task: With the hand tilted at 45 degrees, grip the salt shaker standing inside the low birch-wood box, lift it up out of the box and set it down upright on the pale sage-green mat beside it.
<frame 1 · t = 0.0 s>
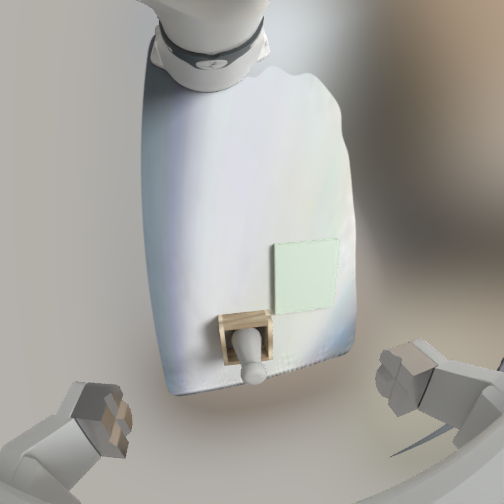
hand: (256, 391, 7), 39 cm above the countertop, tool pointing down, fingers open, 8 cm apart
sage mat: (305, 276, 51), on the countertop
wooden box: (244, 332, 54), on the countertop
salt shaker: (244, 331, 54), resting in wooden box
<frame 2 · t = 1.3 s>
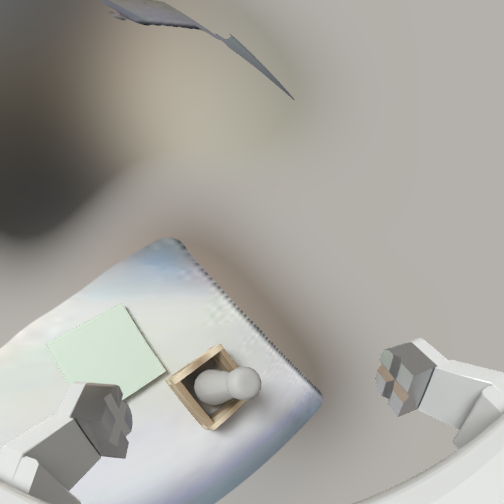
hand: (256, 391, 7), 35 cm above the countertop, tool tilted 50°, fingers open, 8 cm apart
sage mat: (104, 360, 33), on the countertop
wooden box: (206, 387, 40), on the countertop
salt shaker: (206, 388, 40), resting in wooden box
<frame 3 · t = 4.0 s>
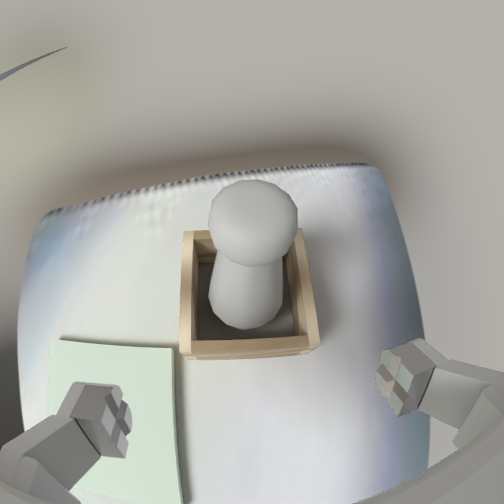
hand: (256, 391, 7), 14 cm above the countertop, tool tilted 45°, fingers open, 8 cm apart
sage mat: (108, 424, 17), on the countertop
wooden box: (244, 303, 23), on the countertop
salt shaker: (244, 303, 24), resting in wooden box
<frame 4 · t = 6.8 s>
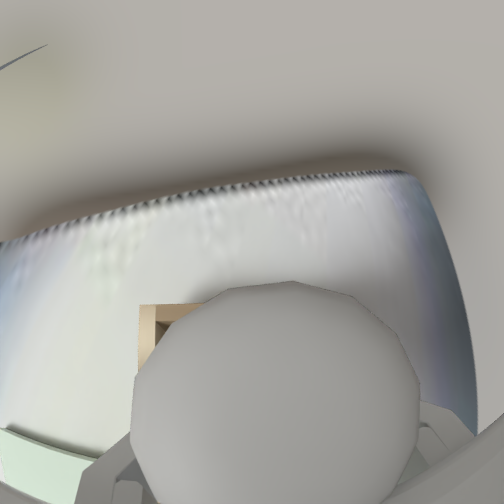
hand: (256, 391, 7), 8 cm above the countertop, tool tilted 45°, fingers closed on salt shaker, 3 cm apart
wooden box: (246, 404, 14), on the countertop
salt shaker: (246, 403, 14), resting in wooden box, touching gripper
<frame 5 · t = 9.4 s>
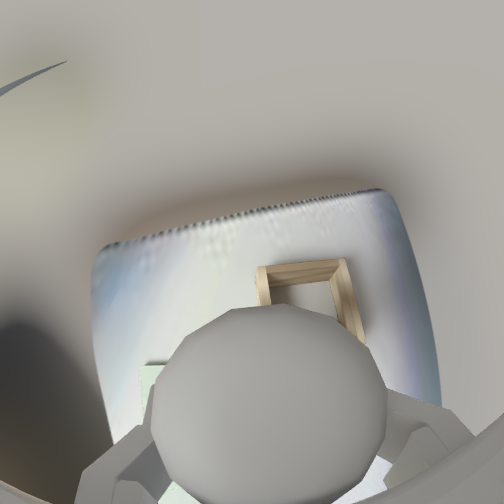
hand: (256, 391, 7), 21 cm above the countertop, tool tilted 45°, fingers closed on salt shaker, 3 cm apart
sage mat: (204, 428, 23), on the countertop
wooden box: (303, 317, 30), on the countertop
salt shaker: (246, 400, 15), point 12 cm above the countertop, touching gripper
when the fingers open (10 cm above the countertop, at t = 12.3 s): salt shaker moves 2 cm, resting on sage mat.
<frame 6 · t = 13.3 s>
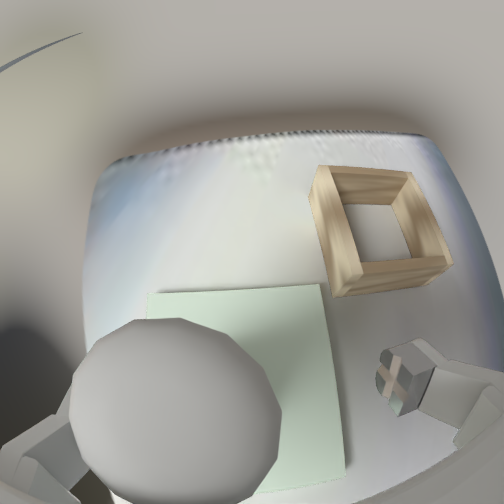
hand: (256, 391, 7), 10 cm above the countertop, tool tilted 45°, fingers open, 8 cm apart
sage mat: (241, 394, 16), on the countertop
wooden box: (370, 240, 23), on the countertop
salt shaker: (210, 403, 15), point 1 cm above the countertop, touching gripper, sage mat
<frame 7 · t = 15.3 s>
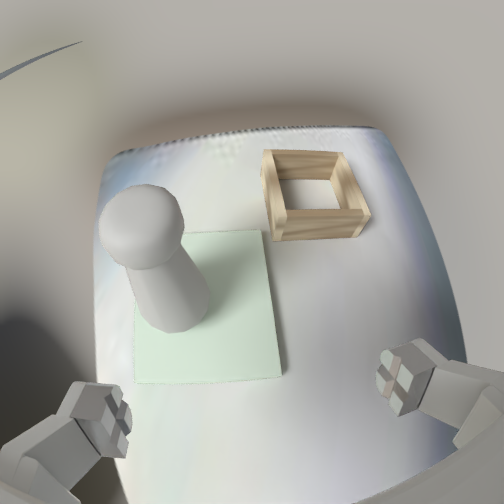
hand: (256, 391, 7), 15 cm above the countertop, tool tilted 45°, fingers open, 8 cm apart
sage mat: (202, 304, 24), on the countertop
wooden box: (307, 203, 31), on the countertop
salt shaker: (178, 307, 23), point 1 cm above the countertop, touching sage mat
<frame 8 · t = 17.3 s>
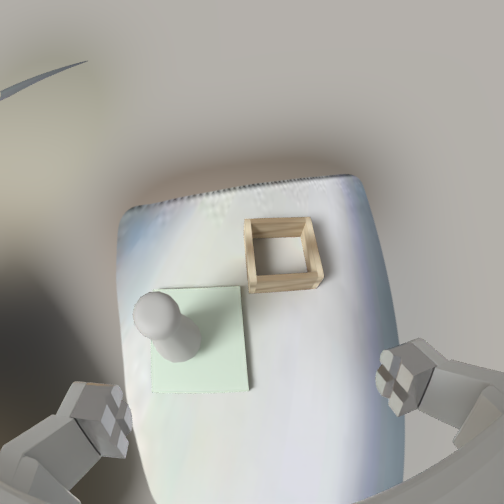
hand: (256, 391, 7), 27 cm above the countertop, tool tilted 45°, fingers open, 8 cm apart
sage mat: (197, 340, 34), on the countertop
wooden box: (278, 260, 41), on the countertop
salt shaker: (181, 343, 33), point 1 cm above the countertop, touching sage mat
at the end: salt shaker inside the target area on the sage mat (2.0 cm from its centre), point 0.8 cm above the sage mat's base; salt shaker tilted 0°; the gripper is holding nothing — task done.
